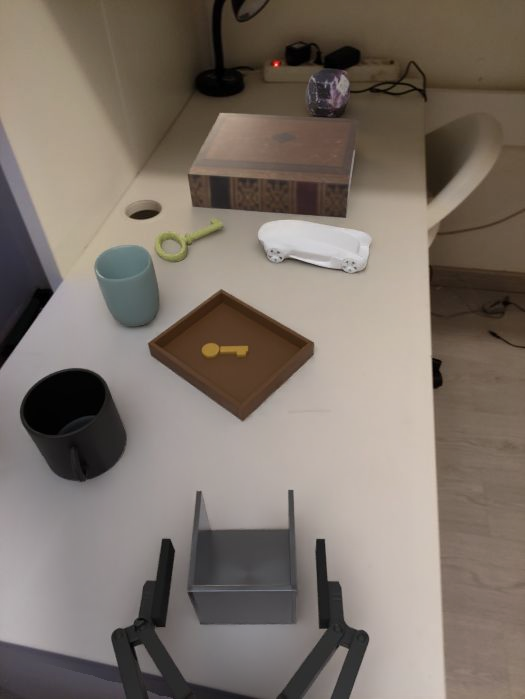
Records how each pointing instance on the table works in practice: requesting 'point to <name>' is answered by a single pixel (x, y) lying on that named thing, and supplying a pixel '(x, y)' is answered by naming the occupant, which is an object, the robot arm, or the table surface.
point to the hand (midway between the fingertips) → (244, 544)
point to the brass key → (223, 350)
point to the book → (275, 164)
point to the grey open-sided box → (242, 572)
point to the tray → (227, 369)
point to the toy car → (316, 244)
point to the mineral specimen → (328, 92)
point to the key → (184, 240)
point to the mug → (74, 423)
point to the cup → (128, 284)
